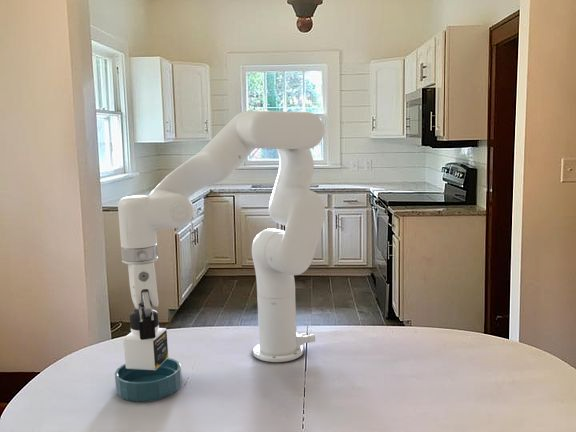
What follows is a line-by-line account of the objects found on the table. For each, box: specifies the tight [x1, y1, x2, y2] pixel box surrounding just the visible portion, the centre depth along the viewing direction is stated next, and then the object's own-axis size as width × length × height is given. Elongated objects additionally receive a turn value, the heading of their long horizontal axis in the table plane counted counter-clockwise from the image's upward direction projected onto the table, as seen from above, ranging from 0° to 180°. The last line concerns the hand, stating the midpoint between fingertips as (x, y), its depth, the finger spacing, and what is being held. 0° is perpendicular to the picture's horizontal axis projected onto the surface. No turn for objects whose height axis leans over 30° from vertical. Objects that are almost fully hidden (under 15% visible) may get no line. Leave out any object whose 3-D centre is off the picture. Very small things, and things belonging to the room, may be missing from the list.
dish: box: [114, 357, 183, 403], centre depth 134 cm, size 14×14×4 cm
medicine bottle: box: [122, 309, 169, 370], centre depth 132 cm, size 7×7×12 cm
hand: (145, 331), depth 132 cm, fingers closed on medicine bottle, 7 cm apart
